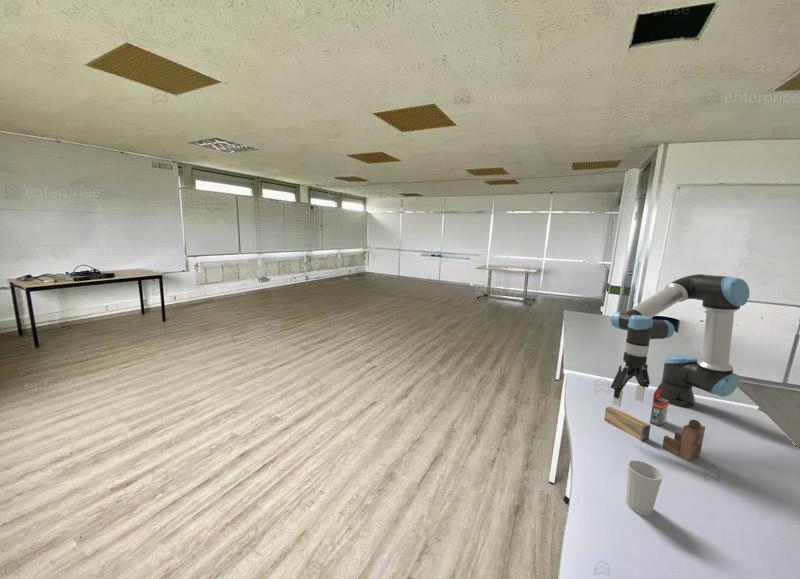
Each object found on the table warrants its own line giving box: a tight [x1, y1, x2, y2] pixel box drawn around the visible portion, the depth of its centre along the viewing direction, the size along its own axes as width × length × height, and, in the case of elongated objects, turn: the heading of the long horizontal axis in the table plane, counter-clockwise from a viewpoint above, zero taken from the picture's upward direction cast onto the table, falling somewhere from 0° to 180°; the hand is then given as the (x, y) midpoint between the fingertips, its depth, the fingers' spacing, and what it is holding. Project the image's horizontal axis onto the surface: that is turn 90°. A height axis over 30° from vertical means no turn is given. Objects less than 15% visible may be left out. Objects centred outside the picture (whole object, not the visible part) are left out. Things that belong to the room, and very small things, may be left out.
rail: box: [604, 405, 652, 442], centre depth 132 cm, size 4×16×6 cm, turn 21°
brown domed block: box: [661, 419, 706, 462], centre depth 117 cm, size 8×8×14 cm
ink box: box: [649, 388, 670, 427], centre depth 138 cm, size 4×8×15 cm, turn 123°
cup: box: [625, 459, 664, 517], centre depth 92 cm, size 8×8×12 cm
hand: (627, 402), depth 131 cm, fingers open, 13 cm apart
